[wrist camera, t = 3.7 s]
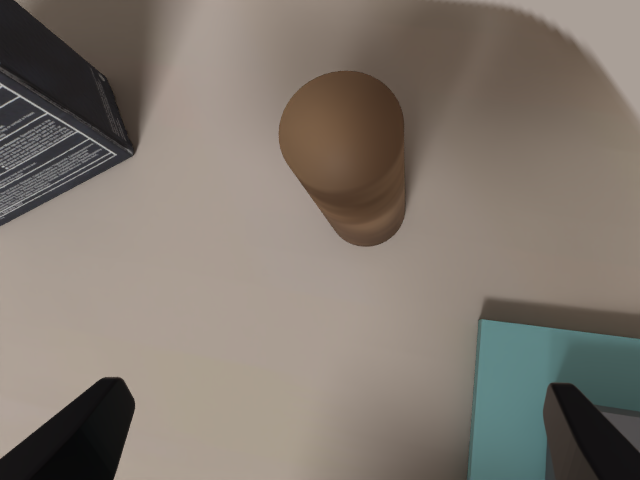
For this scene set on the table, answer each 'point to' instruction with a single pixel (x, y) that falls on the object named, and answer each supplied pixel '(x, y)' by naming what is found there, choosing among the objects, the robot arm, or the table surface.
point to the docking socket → (543, 393)
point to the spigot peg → (348, 153)
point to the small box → (50, 116)
